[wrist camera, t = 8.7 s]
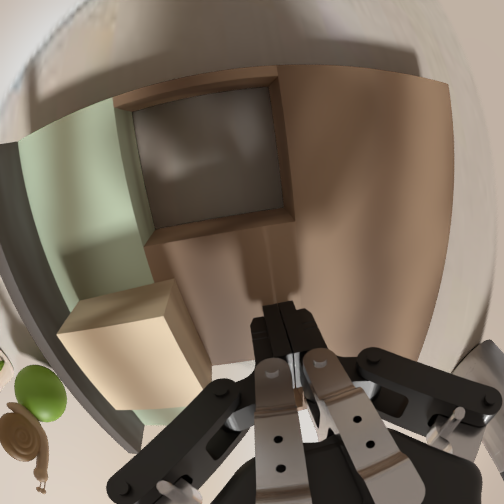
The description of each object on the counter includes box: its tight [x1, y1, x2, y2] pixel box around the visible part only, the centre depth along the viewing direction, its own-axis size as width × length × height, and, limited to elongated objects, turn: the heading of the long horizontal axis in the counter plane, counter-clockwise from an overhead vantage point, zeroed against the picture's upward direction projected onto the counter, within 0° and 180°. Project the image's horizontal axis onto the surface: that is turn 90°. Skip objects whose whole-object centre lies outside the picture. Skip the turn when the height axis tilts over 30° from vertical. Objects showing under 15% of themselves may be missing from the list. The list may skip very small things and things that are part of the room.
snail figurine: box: [0, 365, 67, 494], centre depth 13 cm, size 5×6×12 cm
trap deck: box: [0, 65, 454, 454], centre depth 13 cm, size 24×22×6 cm
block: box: [56, 278, 212, 410], centre depth 12 cm, size 6×6×3 cm
